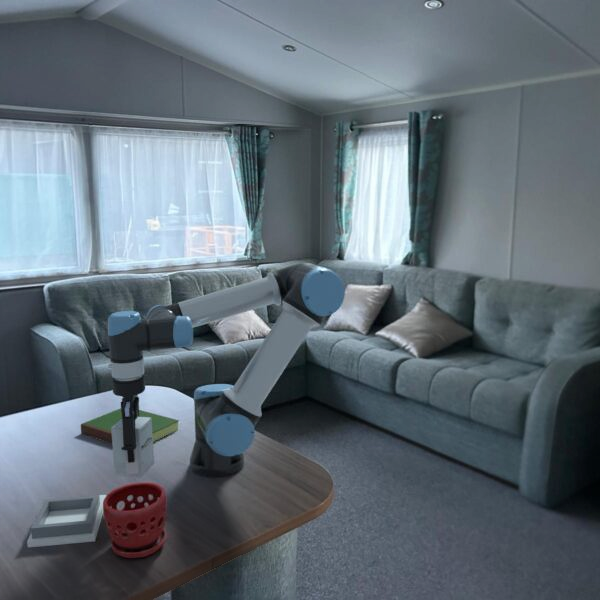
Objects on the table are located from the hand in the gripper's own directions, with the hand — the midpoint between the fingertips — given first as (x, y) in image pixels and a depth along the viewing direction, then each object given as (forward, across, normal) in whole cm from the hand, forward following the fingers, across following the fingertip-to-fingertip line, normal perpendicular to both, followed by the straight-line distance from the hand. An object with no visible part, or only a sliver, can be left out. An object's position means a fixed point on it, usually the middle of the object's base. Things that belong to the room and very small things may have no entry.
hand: (134, 464), depth 147 cm
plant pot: (+10, +20, +2) cm, 22 cm away
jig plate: (+10, +7, -15) cm, 19 cm away
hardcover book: (+11, -45, -6) cm, 47 cm away
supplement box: (+2, 0, 0) cm, 2 cm away
